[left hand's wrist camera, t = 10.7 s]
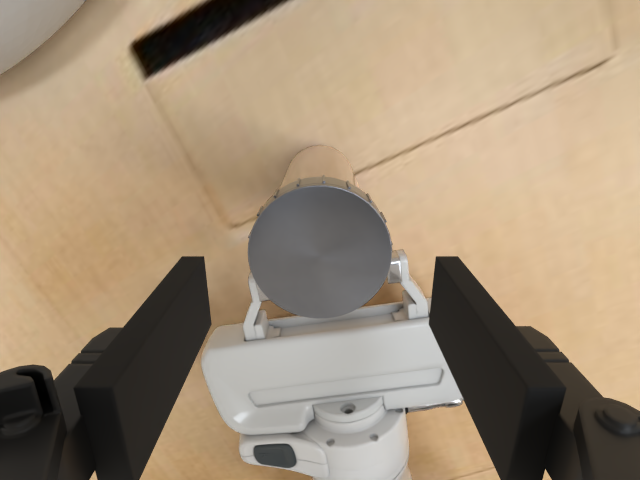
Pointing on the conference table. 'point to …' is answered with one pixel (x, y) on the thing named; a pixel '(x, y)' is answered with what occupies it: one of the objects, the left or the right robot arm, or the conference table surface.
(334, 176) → the jar
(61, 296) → the conference table surface
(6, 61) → the projector
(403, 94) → the conference table surface
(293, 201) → the lid
